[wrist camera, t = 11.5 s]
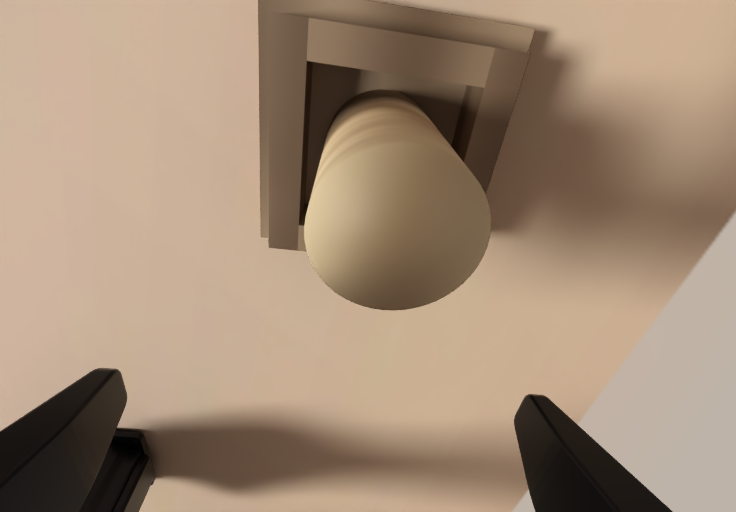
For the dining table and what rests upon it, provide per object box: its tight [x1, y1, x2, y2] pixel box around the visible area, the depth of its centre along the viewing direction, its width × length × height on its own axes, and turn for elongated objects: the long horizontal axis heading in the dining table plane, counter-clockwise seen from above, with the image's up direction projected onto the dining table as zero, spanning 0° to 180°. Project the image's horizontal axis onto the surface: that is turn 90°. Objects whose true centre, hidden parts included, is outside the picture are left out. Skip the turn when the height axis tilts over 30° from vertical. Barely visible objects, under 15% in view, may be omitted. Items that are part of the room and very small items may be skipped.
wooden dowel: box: [304, 89, 491, 310], centre depth 13 cm, size 4×4×8 cm
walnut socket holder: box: [258, 0, 535, 251], centre depth 15 cm, size 10×10×3 cm
